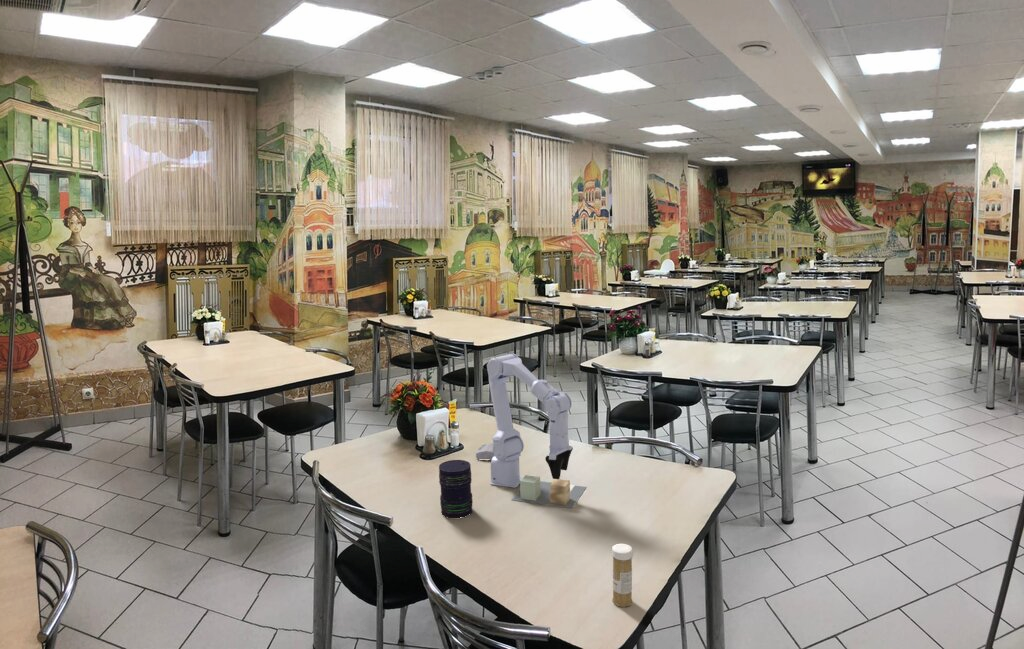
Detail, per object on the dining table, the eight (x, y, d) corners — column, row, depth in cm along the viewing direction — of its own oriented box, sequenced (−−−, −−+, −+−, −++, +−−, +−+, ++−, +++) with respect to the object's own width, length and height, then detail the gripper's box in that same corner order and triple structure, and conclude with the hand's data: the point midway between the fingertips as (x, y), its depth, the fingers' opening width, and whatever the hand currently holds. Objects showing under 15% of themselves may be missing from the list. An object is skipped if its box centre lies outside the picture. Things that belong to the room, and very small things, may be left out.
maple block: (550, 502, 201) (549, 484, 200) (555, 496, 206) (554, 478, 205) (565, 504, 199) (565, 486, 198) (570, 498, 204) (569, 480, 203)
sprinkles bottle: (609, 598, 149) (609, 544, 147) (628, 595, 150) (628, 541, 148) (616, 609, 145) (616, 553, 143) (635, 606, 146) (635, 551, 143)
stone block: (475, 465, 240) (500, 461, 238) (472, 453, 240) (497, 449, 238) (482, 455, 252) (507, 451, 250) (480, 444, 252) (504, 439, 249)
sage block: (520, 498, 205) (520, 481, 204) (526, 492, 209) (525, 475, 208) (535, 500, 203) (534, 482, 202) (540, 494, 207) (540, 477, 207)
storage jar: (447, 521, 191) (445, 474, 188) (436, 509, 199) (433, 463, 197) (478, 514, 195) (476, 467, 193) (465, 502, 204) (463, 457, 202)
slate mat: (511, 500, 204) (511, 499, 204) (529, 480, 220) (529, 479, 220) (571, 508, 197) (571, 508, 197) (586, 487, 213) (586, 486, 212)
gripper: (564, 441, 191) (565, 484, 193) (577, 426, 204) (578, 467, 206) (542, 438, 194) (543, 481, 196) (556, 424, 207) (557, 464, 209)
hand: (559, 474), depth 201 cm, fingers open, 7 cm apart
